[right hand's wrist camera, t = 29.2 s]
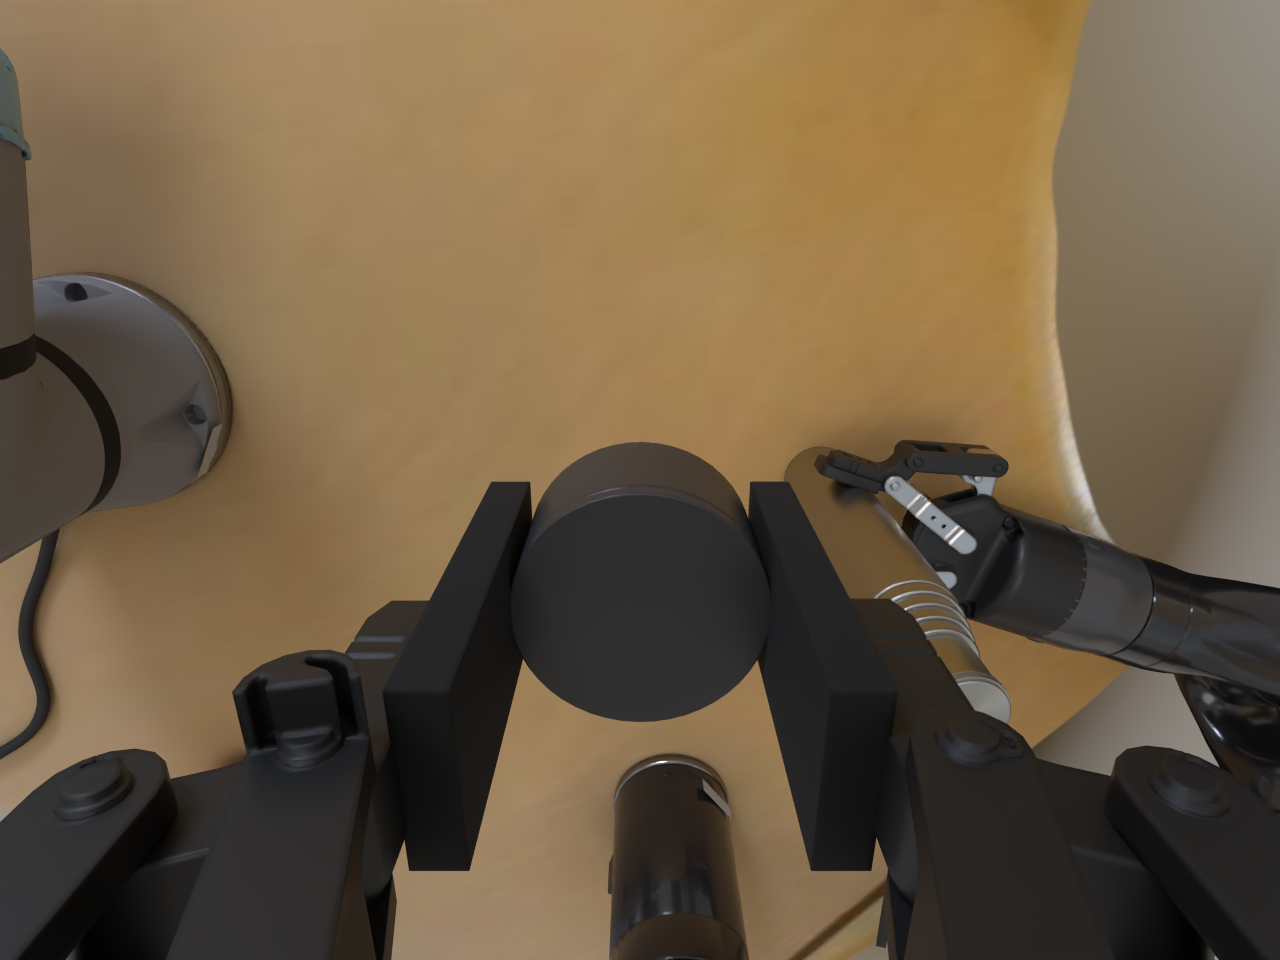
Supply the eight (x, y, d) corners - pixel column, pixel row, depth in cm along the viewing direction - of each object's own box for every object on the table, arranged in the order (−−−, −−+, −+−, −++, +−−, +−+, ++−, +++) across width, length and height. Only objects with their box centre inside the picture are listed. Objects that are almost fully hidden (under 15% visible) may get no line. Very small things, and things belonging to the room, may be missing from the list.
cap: (561, 413, 14) (543, 461, 11) (782, 475, 14) (811, 534, 12) (508, 609, 15) (483, 689, 13) (710, 660, 16) (723, 747, 13)
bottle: (861, 455, 51) (1053, 679, 27) (838, 515, 53) (1000, 776, 29) (796, 439, 51) (934, 652, 27) (775, 500, 52) (887, 752, 29)
